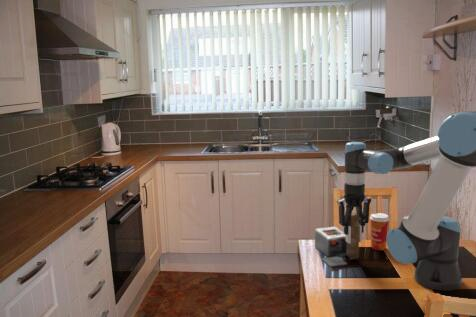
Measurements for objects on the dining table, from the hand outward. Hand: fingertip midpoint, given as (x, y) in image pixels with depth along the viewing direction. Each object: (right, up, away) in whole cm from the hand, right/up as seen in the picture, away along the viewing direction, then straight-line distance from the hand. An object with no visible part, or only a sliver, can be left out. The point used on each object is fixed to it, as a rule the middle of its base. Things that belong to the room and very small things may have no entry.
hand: (353, 241), depth 171 cm
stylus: (0, -6, +1) cm, 6 cm away
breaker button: (-7, -3, +10) cm, 12 cm away
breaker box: (-6, -6, +10) cm, 13 cm away
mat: (-8, -8, -1) cm, 11 cm away
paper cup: (+14, -5, +12) cm, 19 cm away
